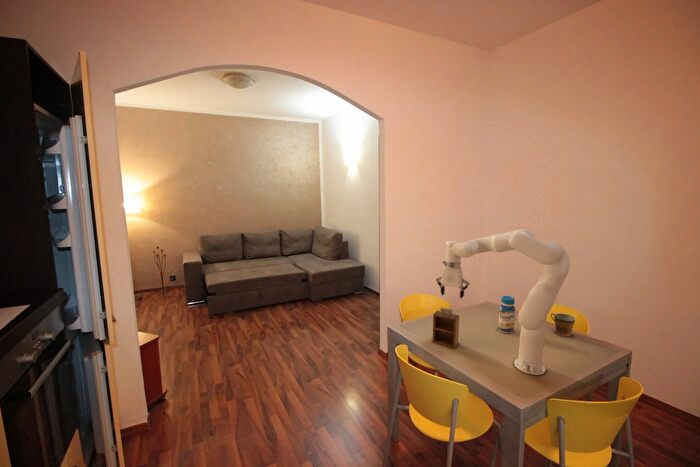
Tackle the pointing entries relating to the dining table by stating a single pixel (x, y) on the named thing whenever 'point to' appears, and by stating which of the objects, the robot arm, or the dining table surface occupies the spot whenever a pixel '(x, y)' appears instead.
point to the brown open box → (445, 327)
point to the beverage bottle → (507, 315)
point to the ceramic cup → (563, 323)
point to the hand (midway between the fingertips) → (452, 296)
